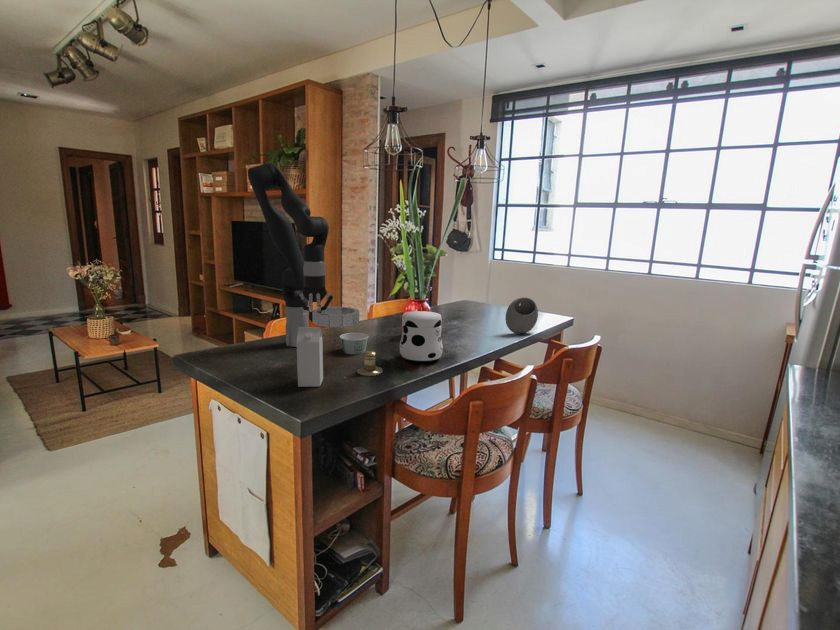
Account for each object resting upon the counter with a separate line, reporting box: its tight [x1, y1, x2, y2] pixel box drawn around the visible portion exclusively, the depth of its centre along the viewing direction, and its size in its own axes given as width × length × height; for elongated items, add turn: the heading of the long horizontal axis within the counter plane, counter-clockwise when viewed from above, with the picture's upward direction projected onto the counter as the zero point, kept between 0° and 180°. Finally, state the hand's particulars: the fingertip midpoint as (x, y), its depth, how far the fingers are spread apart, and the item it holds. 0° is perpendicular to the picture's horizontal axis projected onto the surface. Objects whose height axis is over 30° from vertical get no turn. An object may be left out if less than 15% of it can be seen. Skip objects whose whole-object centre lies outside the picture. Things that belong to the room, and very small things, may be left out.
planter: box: [505, 296, 539, 335], centre depth 214 cm, size 18×7×19 cm, turn 110°
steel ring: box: [312, 306, 360, 328], centre depth 156 cm, size 17×17×4 cm
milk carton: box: [296, 326, 324, 388], centre depth 140 cm, size 7×7×19 cm
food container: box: [339, 332, 370, 355], centre depth 179 cm, size 12×12×6 cm
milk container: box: [399, 310, 444, 363], centre depth 169 cm, size 17×17×18 cm
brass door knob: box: [356, 350, 384, 377], centre depth 153 cm, size 9×9×7 cm
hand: (315, 321), depth 156 cm, fingers closed on steel ring, 1 cm apart
